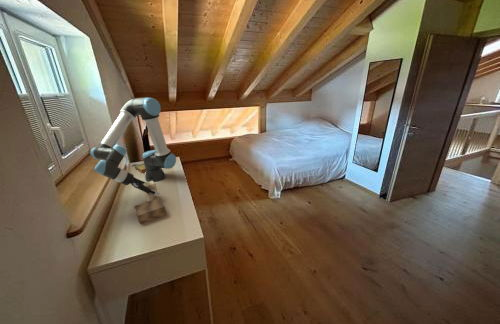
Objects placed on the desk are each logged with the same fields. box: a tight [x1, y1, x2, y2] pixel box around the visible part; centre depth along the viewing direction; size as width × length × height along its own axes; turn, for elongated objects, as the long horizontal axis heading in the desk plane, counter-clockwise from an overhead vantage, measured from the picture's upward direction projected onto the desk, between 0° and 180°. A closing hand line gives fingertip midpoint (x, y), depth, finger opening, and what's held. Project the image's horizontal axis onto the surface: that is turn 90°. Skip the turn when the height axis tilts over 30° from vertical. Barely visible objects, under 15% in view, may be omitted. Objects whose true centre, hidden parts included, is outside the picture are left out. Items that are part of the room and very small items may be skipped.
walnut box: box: [134, 197, 167, 225], centre depth 124 cm, size 14×12×6 cm
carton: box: [134, 162, 146, 174], centre depth 192 cm, size 8×16×4 cm, turn 48°
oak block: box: [143, 181, 160, 202], centre depth 139 cm, size 6×6×12 cm
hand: (157, 192), depth 142 cm, fingers closed on oak block, 7 cm apart
